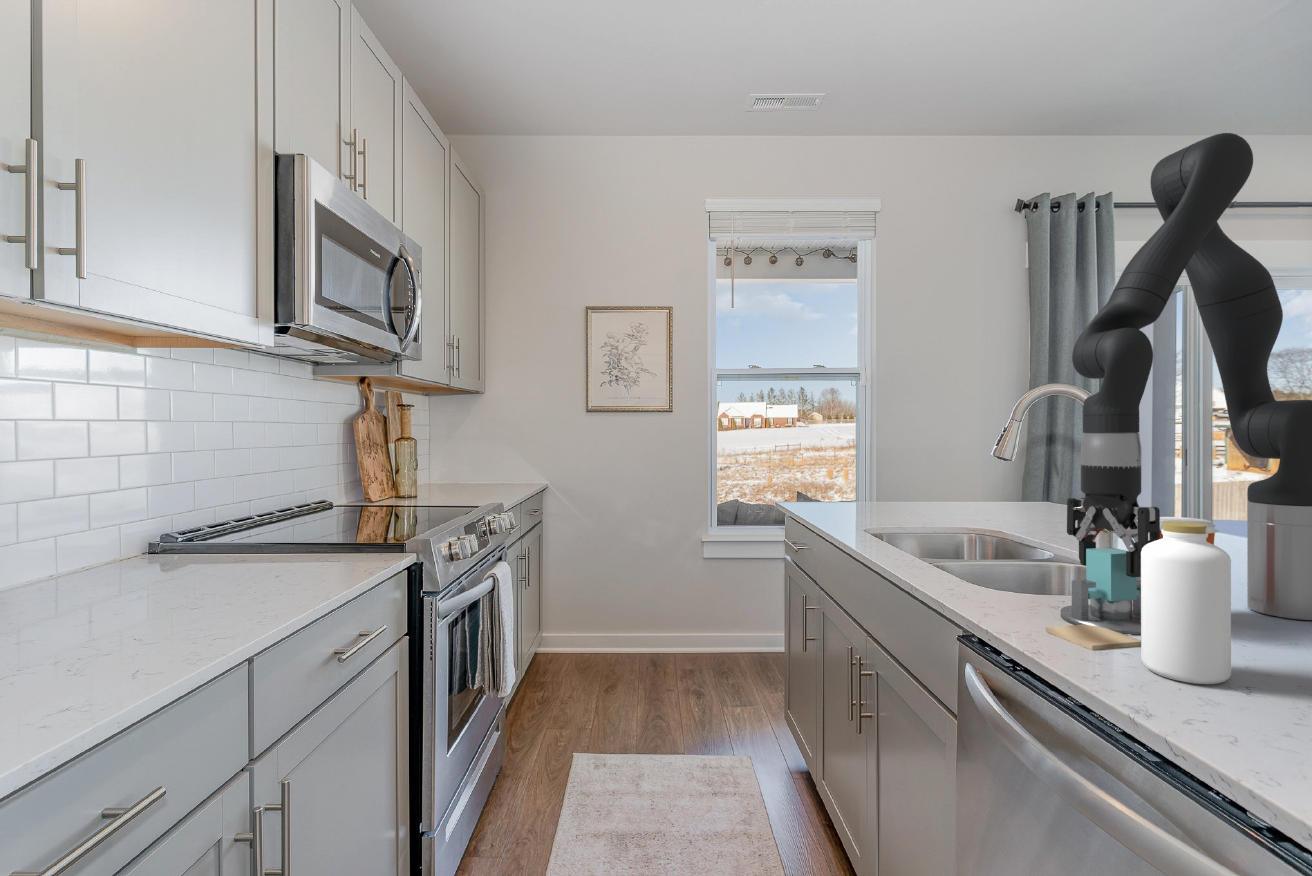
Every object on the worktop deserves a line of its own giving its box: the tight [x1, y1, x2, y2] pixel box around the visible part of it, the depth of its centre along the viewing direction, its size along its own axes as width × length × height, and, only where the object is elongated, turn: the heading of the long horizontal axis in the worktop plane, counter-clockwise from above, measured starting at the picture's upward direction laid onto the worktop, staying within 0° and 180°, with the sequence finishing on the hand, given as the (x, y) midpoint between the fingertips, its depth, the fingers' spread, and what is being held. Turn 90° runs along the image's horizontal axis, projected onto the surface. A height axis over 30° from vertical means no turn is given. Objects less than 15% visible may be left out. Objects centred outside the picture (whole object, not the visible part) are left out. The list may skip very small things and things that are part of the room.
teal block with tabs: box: [1085, 546, 1140, 601], centre depth 98 cm, size 9×4×7 cm, turn 100°
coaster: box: [1045, 624, 1141, 651], centre depth 91 cm, size 8×8×1 cm
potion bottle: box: [1140, 522, 1232, 685], centre depth 77 cm, size 8×8×18 cm
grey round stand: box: [1060, 577, 1141, 636], centre depth 98 cm, size 13×13×6 cm
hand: (1110, 570), depth 98 cm, fingers open, 7 cm apart
